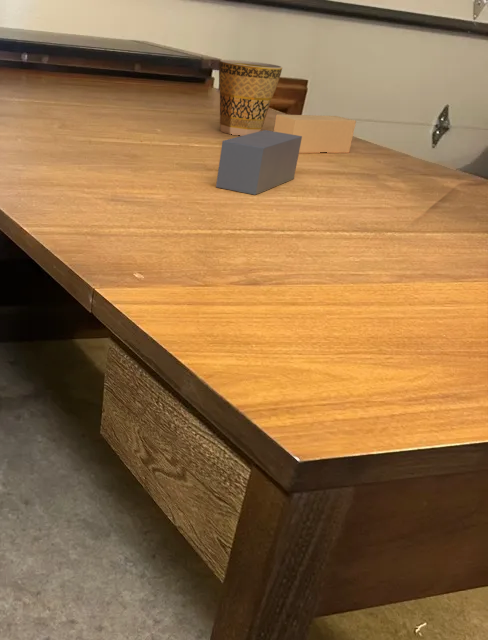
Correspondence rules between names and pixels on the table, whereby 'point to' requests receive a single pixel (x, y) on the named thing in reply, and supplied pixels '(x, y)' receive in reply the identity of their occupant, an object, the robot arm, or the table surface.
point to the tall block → (318, 132)
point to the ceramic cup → (245, 94)
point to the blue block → (258, 161)
